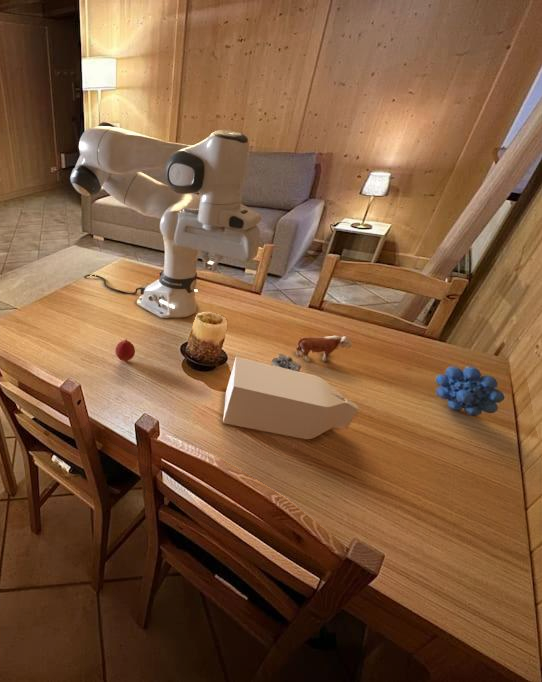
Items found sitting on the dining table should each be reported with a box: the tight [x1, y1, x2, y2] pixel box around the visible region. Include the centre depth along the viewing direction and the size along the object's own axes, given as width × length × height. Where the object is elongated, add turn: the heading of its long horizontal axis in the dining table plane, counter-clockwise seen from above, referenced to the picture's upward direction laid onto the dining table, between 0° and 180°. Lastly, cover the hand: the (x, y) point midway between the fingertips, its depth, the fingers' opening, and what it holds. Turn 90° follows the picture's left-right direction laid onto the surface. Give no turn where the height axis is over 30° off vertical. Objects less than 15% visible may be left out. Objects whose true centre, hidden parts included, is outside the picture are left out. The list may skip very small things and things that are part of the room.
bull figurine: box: [295, 334, 353, 362], centre depth 102 cm, size 4×13×8 cm, turn 79°
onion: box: [115, 338, 136, 362], centre depth 107 cm, size 6×6×8 cm
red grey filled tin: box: [271, 353, 302, 372], centre depth 92 cm, size 8×3×10 cm, turn 23°
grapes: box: [434, 365, 505, 417], centre depth 82 cm, size 12×7×12 cm, turn 40°
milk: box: [222, 356, 359, 440], centre depth 83 cm, size 12×12×26 cm
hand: (209, 269), depth 90 cm, fingers closed
